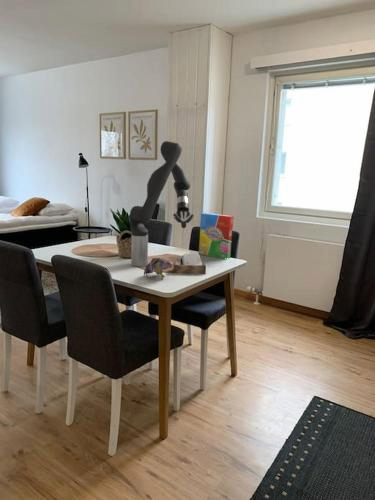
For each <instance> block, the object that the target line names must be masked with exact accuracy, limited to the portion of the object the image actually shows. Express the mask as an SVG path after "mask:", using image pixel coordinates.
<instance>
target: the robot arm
mask: <svg viewBox="0 0 375 500" xmlns="http://www.w3.org/2000/svg"><path fill="white" fill-rule="evenodd" d="M182 151H183V148H182V145H181V143H178V142H174V141H167V140H166V141H163V142H162V143H161V145H160V154H161V157H162V158H163V160H164V161H165V162H164V163H163V164H162V165H161V166H159V167H158V168H157V169H155V170H154V171H153V172H152V174H150V177H149V179H148V181H147V184H146V199H145V201H144V203H143V205H142V206H141V205H140V206H139V205H135V206H133V207H132V208H131V209H130V212H129V227H130V228H129V229H130V232H131V254H130V255H131V257H130V258H131V259H130V260H131V261H130V266H132V267H133V266H134V267H146V266H147V265H148V264H149V261H148V260H149V257H148V256H149V251H148V250H149V230H148V229H147V228H146V227H145V225H146V224H148V223H149V222H150V220H151V219H152V217H153V214H154V212H155V209H156V205H157V203H158V200H159V198H160V196H161V193H162V191H164V188H165V186H166V184H167V181H168V179H169V177H170V175H172V178H173V180H174V183H173V189H174V191H175V193H176V213H173V215H172V218H173V219H175V220H176V222H177V223H180V227H181V228H182V229H185V228H187V224H188V223H190V222H191V221H192V220H193V218H194V214H193V213H191V212H190V206H189V205H190V204H189V203H190V202H189V193H188V190H190V189H191V183H190V180H189V179H188V178H187V177H186V175H185V173H184V170H183V167H182V166H181V164H179V163H178V161H179V159H180V157H181V154H182Z"/></svg>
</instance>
